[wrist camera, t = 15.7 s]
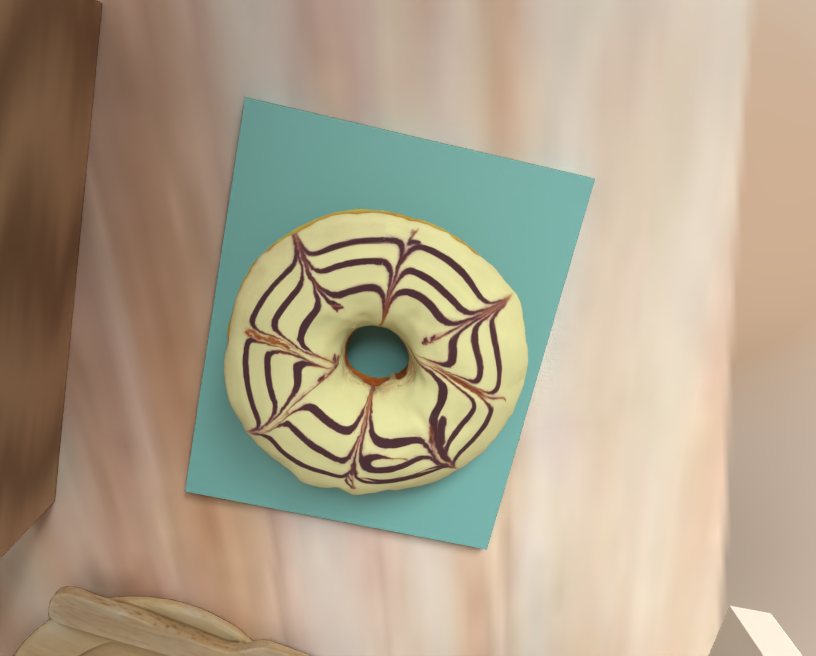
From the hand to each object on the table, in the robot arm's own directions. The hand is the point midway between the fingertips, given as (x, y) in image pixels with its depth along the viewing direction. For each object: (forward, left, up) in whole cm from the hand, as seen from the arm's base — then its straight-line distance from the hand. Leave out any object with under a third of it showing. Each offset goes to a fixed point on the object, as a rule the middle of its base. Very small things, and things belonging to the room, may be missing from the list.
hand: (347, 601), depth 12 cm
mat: (0, 0, -16) cm, 16 cm away
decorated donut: (0, 0, -16) cm, 16 cm away
